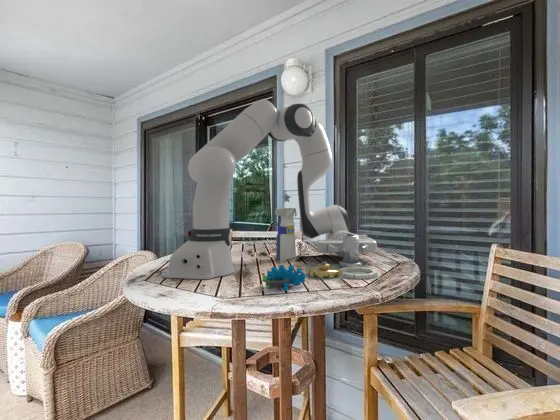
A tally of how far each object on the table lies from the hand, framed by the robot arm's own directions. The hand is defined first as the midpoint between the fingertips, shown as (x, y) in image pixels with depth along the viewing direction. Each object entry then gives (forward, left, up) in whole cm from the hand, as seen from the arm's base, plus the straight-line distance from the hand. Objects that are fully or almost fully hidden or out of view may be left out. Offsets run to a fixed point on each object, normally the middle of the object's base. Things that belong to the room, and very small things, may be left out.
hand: (350, 249), depth 106 cm
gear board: (-5, -6, -7) cm, 10 cm away
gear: (-21, -22, -7) cm, 32 cm away
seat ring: (0, -10, -5) cm, 11 cm away
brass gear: (-10, -10, -5) cm, 15 cm away
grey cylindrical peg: (0, 0, -5) cm, 5 cm away
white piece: (-20, +18, -7) cm, 28 cm away
